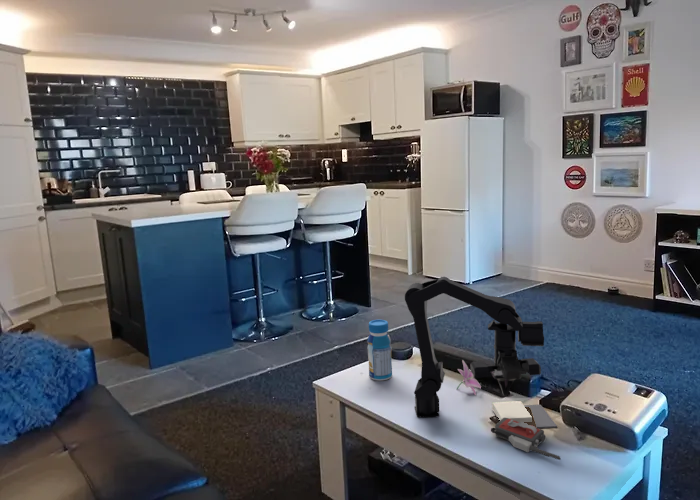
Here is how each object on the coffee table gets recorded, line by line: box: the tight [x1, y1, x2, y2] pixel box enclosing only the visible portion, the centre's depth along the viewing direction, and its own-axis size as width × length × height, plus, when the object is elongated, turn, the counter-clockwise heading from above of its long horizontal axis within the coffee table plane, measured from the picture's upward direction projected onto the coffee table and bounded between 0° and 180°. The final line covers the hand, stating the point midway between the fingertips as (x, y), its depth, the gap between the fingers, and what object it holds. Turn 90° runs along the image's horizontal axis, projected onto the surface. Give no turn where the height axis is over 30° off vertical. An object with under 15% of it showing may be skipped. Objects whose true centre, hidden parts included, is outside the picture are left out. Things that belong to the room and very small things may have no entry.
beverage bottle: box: [366, 319, 393, 382], centre depth 188 cm, size 8×8×20 cm
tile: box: [491, 400, 532, 422], centre depth 156 cm, size 2×10×8 cm
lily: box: [456, 359, 482, 396], centre depth 174 cm, size 11×11×9 cm
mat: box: [523, 404, 558, 429], centre depth 156 cm, size 14×13×1 cm
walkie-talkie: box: [490, 418, 562, 460], centre depth 141 cm, size 9×4×20 cm
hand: (505, 395), depth 155 cm, fingers closed
